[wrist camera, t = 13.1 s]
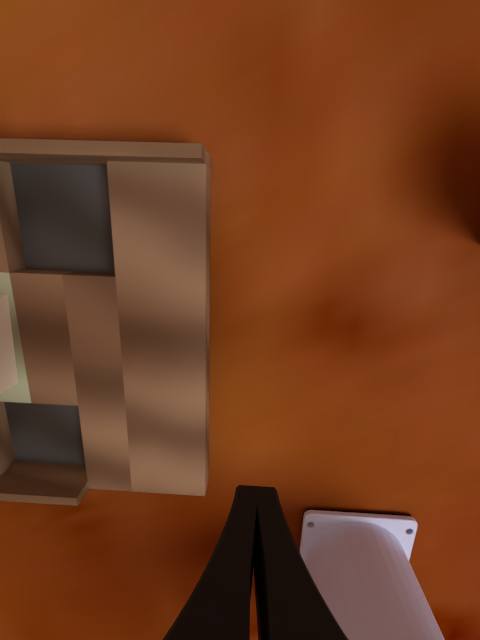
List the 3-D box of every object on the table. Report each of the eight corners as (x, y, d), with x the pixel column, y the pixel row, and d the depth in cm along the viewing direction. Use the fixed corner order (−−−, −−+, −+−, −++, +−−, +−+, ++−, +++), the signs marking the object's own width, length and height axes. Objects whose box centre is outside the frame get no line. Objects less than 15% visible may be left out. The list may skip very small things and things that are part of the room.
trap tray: (208, 478, 23) (201, 514, 20) (-34, 463, 24) (-74, 495, 21) (210, 157, 17) (201, 143, 14) (-112, 148, 18) (-183, 133, 15)
